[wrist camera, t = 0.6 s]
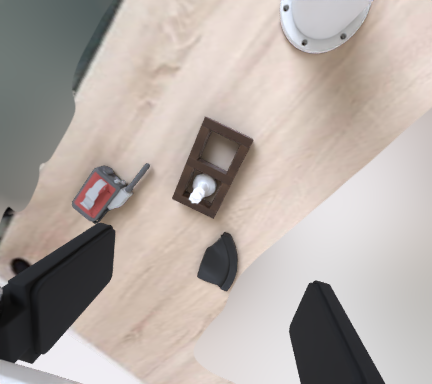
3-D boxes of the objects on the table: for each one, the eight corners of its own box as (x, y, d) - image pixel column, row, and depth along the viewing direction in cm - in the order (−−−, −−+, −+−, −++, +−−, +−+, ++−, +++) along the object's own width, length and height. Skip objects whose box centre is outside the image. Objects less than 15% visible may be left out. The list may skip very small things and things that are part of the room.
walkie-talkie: (106, 226, 48) (155, 166, 42) (93, 236, 44) (145, 171, 38) (76, 202, 47) (122, 136, 41) (60, 209, 43) (108, 137, 37)
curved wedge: (250, 241, 44) (251, 245, 43) (228, 286, 49) (228, 292, 47) (215, 227, 45) (214, 231, 43) (196, 274, 49) (194, 279, 48)
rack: (208, 117, 38) (205, 116, 35) (252, 138, 38) (253, 139, 35) (176, 194, 43) (171, 198, 41) (215, 212, 43) (213, 218, 41)
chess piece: (198, 168, 41) (184, 181, 32) (220, 179, 41) (213, 195, 32) (189, 189, 43) (173, 207, 33) (210, 200, 43) (200, 221, 33)
